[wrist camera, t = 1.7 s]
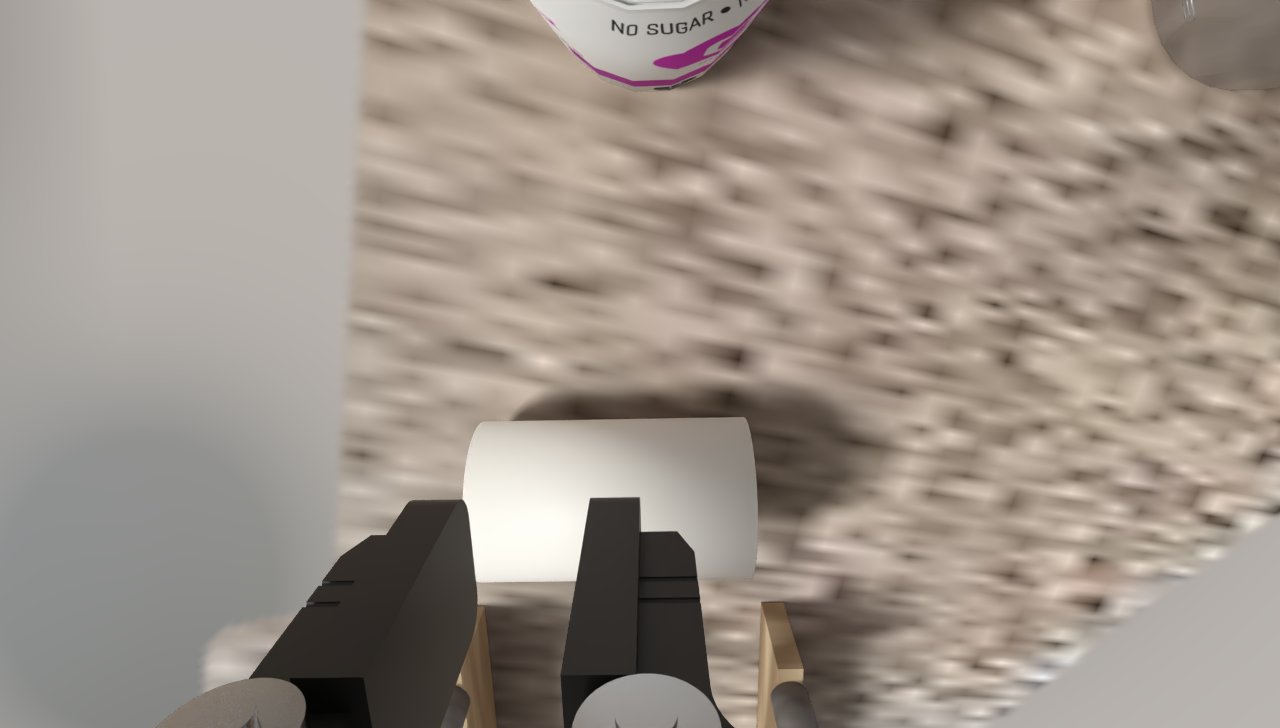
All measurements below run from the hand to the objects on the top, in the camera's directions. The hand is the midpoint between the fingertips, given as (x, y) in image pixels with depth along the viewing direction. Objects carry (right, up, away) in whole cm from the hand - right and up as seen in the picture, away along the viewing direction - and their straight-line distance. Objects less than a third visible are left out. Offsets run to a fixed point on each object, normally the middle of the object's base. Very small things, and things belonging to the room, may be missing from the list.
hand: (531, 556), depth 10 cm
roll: (0, -3, +22) cm, 22 cm away
